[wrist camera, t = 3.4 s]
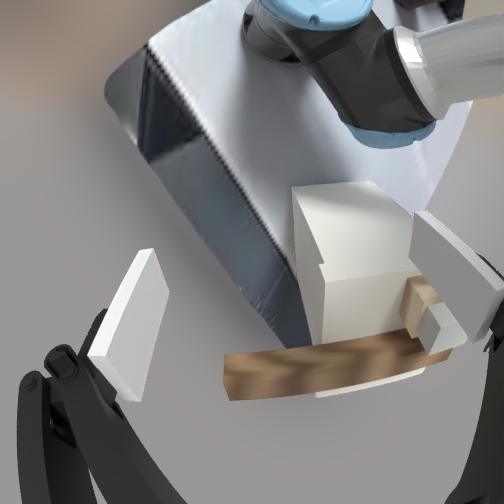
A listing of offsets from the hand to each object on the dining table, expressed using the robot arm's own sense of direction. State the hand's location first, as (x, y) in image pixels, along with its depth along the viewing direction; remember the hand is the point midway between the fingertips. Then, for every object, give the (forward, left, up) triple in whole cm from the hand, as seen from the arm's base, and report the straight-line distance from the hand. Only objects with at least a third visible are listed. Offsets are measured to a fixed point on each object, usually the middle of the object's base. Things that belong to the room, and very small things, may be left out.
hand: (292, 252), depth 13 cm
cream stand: (+24, -4, -39) cm, 46 cm away
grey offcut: (+20, +4, -5) cm, 21 cm away
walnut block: (+20, -8, -9) cm, 23 cm away
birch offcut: (+20, +4, -9) cm, 22 cm away
